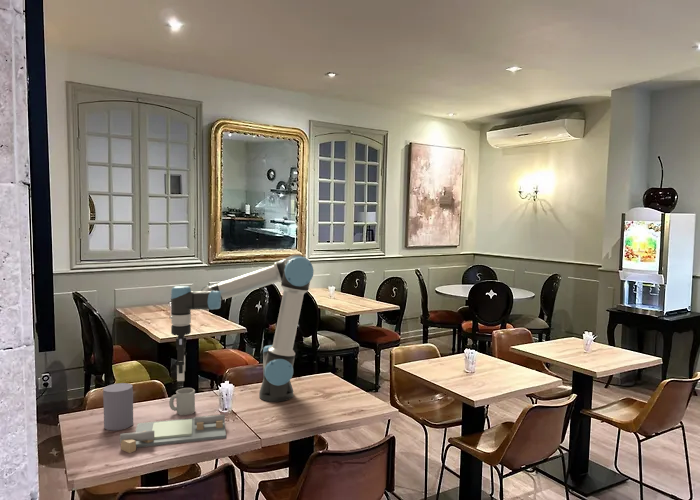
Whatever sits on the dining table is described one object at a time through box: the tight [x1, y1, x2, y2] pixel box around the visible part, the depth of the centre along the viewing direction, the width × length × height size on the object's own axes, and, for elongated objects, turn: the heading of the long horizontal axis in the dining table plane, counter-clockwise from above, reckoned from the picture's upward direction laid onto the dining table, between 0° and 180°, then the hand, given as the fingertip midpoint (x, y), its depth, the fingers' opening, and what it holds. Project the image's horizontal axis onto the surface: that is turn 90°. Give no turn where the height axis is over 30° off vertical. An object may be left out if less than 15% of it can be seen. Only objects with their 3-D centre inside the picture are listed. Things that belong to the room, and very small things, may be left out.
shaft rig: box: [119, 414, 227, 454], centre depth 197 cm, size 36×24×5 cm
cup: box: [168, 387, 196, 416], centre depth 219 cm, size 7×10×9 cm
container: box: [102, 382, 134, 432], centre depth 204 cm, size 10×10×15 cm
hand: (181, 375), depth 218 cm, fingers open, 13 cm apart
